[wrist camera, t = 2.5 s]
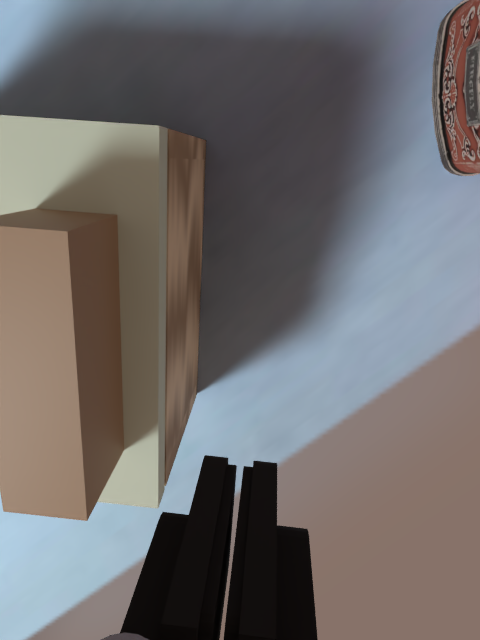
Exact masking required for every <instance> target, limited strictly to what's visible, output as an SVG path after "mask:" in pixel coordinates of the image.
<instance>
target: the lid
mask: <svg viewBox="0 0 480 640" xmlns="http://www.w3.org/2000/svg"><path fill="white" fill-rule="evenodd" d="M167 141H168V128H165V127H162V126H157V125H142V124H127V123H113V122H98V121H83V120H68V119H53V118H38V117H24V116H9V115H0V491H1V498H2V505H3V511H5V512H13V513H22V514H31V515H40V516H49V517H58V518H67V519H76V520H85V521H87V520H88V518H89V516H90V514H91V512H92V510H93V509H94V507H95V505H96V503H97V502H104V503H113V504H122V505H131V506H140V507H150V508H158V507H159V504H160V502H161V499H162V496H163V493H164V479H165V366H166V254H167Z"/></svg>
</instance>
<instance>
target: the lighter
mask: <svg viewBox="0 0 480 640" xmlns="http://www.w3.org/2000/svg"><path fill="white" fill-rule="evenodd" d="M432 108H433V118H434V128H435V135H436V140H437V144H438V148H439V153H440V157H441V162H442V164H443V166H444V168H445V169H446V170H447V171H449V172H450V173H452V174H455V175H461V176H473V175H477V174H480V0H465V1H462V2H461V3H460V4H458V5H457V6H456V7H455V8H453V9H452V10H451V11H450V12H449V13H447V15H446V16H445V17H444V19H443V20H442V22H441V24H440V27H439V30H438V35H437V42H436V49H435V56H434V63H433V81H432Z"/></svg>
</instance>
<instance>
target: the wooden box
mask: <svg viewBox="0 0 480 640" xmlns="http://www.w3.org/2000/svg"><path fill="white" fill-rule="evenodd" d="M205 158H206V140H204V139H200V138H197V137H194V136H191V135H188V134H184V133H181V132H178V131H175V130H172V129H168V141H167V254H166V366H165V479H164V486H166V484H167V481H168V478H169V475H170V472H171V469H172V466H173V463H174V460H175V457H176V454H177V451H178V448H179V445H180V442H181V439H182V436H183V433H184V430H185V427H186V425H187V422H188V419H189V416H190V413H191V410H192V407H193V404H194V401H195V398H196V395H197V375H198V348H199V321H200V294H201V266H202V239H203V212H204V185H205Z"/></svg>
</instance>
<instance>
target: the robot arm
mask: <svg viewBox="0 0 480 640" xmlns="http://www.w3.org/2000/svg"><path fill="white" fill-rule="evenodd" d="M235 480H236V465H228V458H224V457H215V456H206V455H205V456H204V459H203V463H202V467H201V471H200V475H199V479H198V482H197V486H196V490H195V494H194V498H193V502H192V505H191V509H190V513H189V515H184V514H175V513H167V512H163V513H162V514H161V516H160V519H159V521H158V524H157V527H156V530H155V533H154V536H153V539H152V542H151V545H150V547H149V550H148V553H147V556H146V559H145V562H144V565H143V568H142V571H141V574H140V577H139V579H138V582H137V585H136V588H135V591H134V594H133V597H132V600H131V603H130V606H129V609H128V611H127V614H126V618H125V620H124V623H123V626H122V629H121V632H120V633H119V634H114V635H110V636H108V637H106V638H104V639H101V640H219V638H220V630H221V622H222V614H223V607H224V598H225V591H226V583H227V575H228V566H229V556H230V543H231V531H232V517H233V506H234V493H235ZM224 640H317V629H316V617H315V604H314V592H313V580H312V568H311V556H310V544H309V534H308V530H307V529H303V528H294V527H286V526H277V463H270V462H261V461H254V463H253V467H246V466H244V469H243V478H242V486H241V495H240V503H239V512H238V521H237V529H236V537H235V546H234V554H233V562H232V571H231V579H230V588H229V596H228V605H227V613H226V623H225V632H224Z"/></svg>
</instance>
